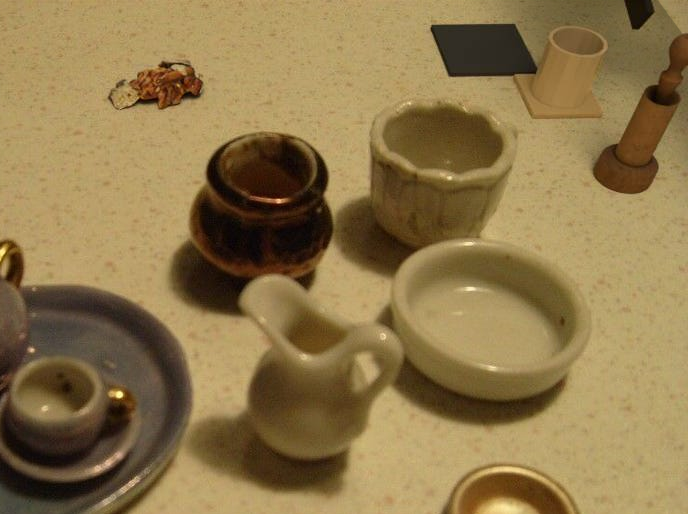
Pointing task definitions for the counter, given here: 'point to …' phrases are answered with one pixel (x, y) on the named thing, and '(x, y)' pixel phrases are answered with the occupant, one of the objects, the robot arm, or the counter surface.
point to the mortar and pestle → (645, 129)
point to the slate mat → (483, 50)
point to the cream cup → (568, 67)
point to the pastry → (158, 85)
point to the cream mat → (544, 111)
